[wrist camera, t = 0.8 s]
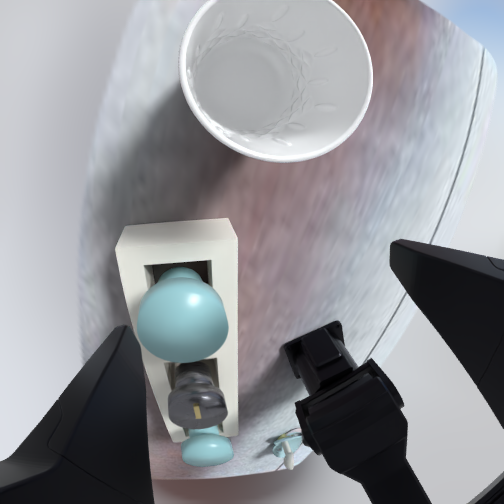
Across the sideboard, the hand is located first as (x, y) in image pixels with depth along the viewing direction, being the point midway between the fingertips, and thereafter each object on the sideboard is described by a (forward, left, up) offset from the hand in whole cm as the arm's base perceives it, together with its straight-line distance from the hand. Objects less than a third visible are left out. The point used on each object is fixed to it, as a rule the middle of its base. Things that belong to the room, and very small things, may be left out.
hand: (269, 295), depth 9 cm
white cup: (+6, -4, -14) cm, 16 cm away
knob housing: (-13, +8, -14) cm, 20 cm away
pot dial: (-13, +8, -10) cm, 18 cm away
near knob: (-4, +5, -10) cm, 12 cm away
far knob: (-21, +11, -10) cm, 26 cm away
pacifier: (-41, +4, -14) cm, 43 cm away
